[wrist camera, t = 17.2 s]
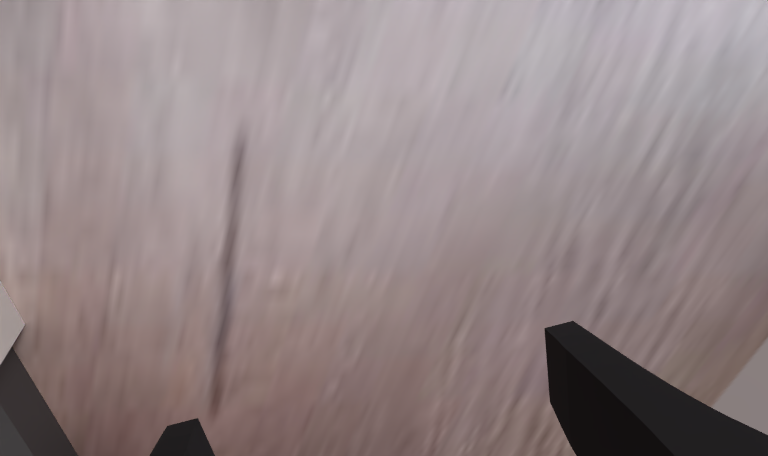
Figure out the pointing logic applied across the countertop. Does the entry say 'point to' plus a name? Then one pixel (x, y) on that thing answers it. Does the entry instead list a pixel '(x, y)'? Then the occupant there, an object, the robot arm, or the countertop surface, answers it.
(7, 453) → the plug
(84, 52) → the countertop surface
